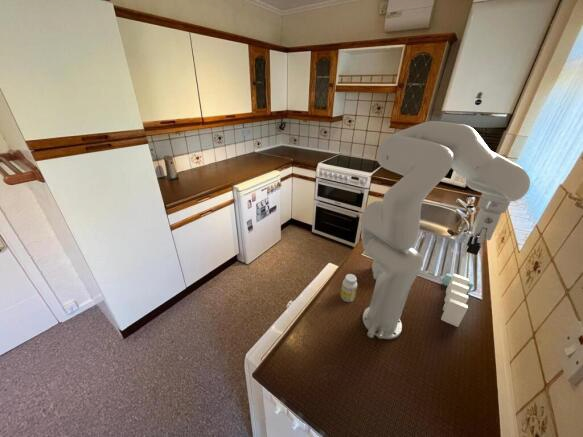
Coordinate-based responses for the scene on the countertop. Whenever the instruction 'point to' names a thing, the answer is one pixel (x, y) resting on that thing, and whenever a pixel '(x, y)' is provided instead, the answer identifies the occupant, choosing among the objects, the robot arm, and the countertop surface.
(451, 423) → the countertop surface
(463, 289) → the domino
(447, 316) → the domino
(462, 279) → the domino
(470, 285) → the domino
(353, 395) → the countertop surface
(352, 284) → the supplement bottle
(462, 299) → the domino
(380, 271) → the small box
